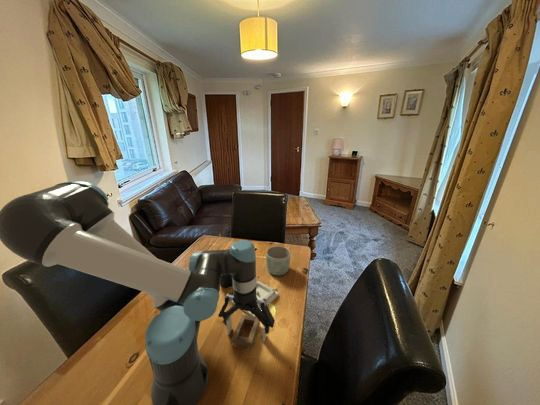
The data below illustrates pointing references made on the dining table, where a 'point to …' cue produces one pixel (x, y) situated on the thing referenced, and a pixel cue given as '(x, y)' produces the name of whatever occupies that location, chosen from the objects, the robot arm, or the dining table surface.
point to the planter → (278, 260)
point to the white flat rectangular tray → (263, 295)
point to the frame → (237, 338)
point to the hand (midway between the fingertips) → (246, 334)
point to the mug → (226, 281)
